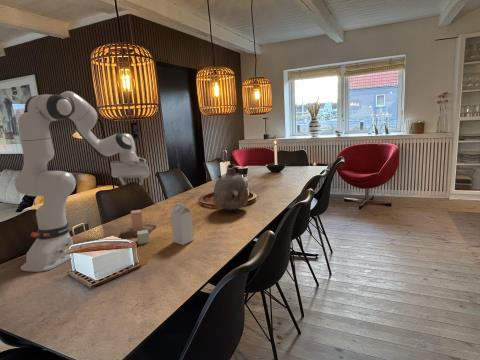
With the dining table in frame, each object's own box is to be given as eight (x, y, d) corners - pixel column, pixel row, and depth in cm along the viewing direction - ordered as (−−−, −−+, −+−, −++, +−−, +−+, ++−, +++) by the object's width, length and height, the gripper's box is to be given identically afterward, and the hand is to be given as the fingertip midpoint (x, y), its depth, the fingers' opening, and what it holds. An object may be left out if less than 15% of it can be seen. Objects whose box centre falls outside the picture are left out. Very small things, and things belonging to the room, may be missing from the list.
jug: (206, 210, 200) (203, 164, 194) (233, 203, 213) (230, 160, 207) (230, 219, 182) (227, 168, 175) (257, 211, 195) (256, 163, 189)
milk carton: (184, 237, 157) (181, 201, 154) (193, 240, 153) (191, 203, 149) (173, 242, 152) (169, 204, 148) (182, 245, 148) (179, 206, 144)
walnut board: (144, 237, 160) (144, 234, 160) (119, 236, 162) (119, 234, 162) (156, 227, 173) (155, 225, 173) (132, 227, 176) (132, 224, 175)
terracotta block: (143, 230, 166) (141, 212, 164) (133, 231, 164) (131, 213, 162) (142, 227, 171) (140, 209, 169) (132, 228, 169) (130, 210, 167)
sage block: (149, 242, 153) (148, 232, 152) (138, 244, 152) (137, 234, 151) (148, 238, 158) (147, 229, 157) (138, 240, 156) (137, 231, 155)
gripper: (111, 158, 166) (114, 182, 162) (148, 159, 179) (152, 182, 174) (108, 163, 170) (111, 186, 166) (144, 164, 183) (148, 186, 179)
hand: (132, 184), depth 170 cm, fingers open, 8 cm apart
